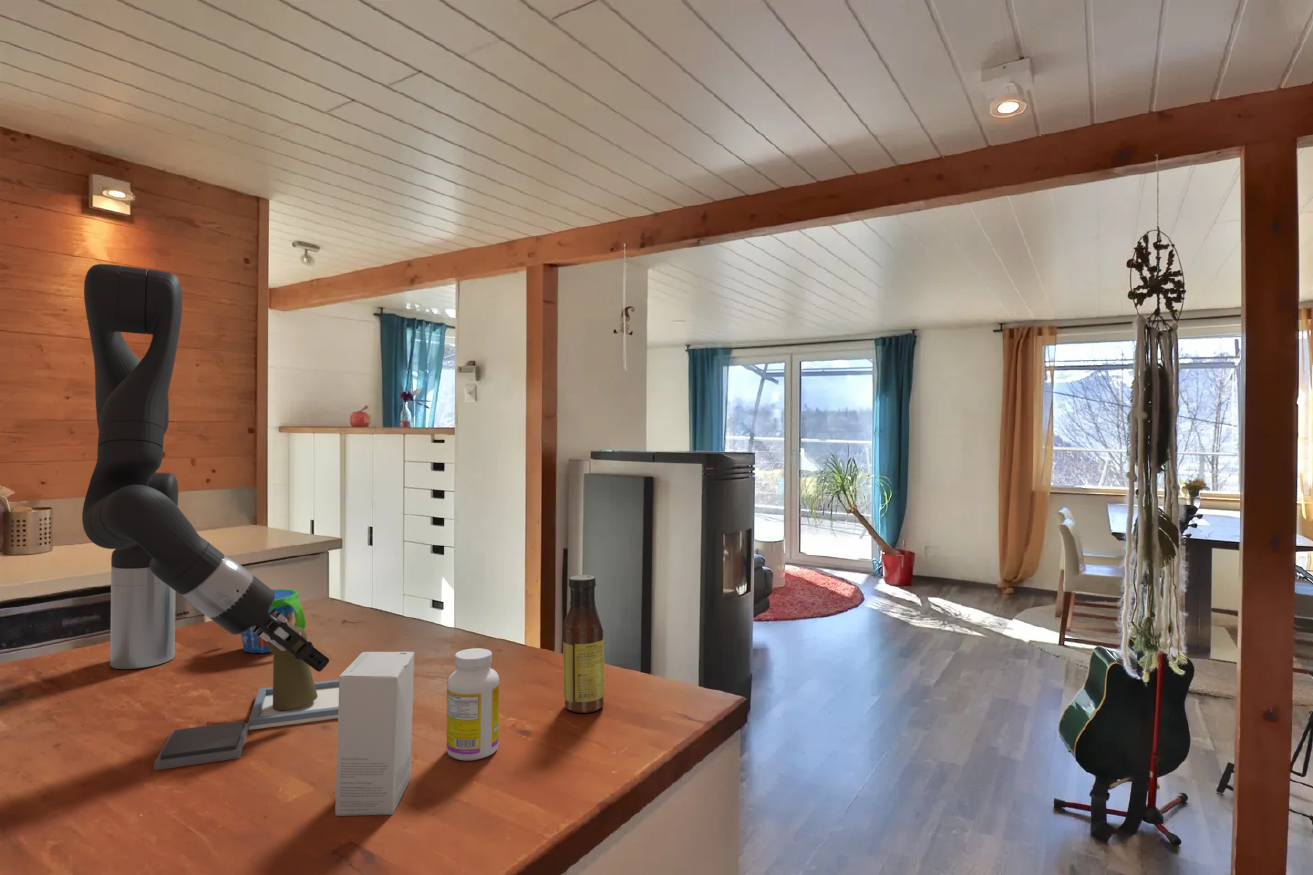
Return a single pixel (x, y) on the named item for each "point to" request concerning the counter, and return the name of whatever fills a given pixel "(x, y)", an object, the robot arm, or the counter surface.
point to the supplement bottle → (472, 706)
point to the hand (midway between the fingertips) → (315, 659)
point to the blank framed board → (310, 712)
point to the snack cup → (284, 605)
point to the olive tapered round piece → (291, 678)
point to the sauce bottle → (583, 649)
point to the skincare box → (374, 733)
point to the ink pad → (203, 745)
